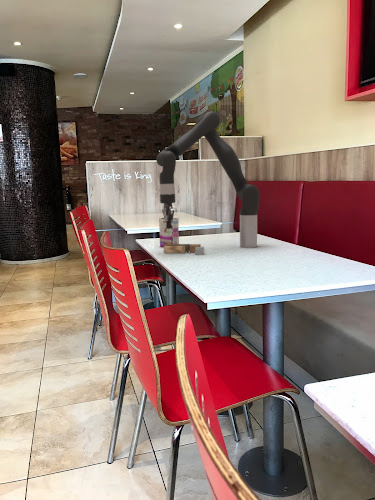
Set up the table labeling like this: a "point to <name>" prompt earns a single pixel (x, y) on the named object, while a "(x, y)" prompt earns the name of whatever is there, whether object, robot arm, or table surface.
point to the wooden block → (187, 247)
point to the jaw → (174, 249)
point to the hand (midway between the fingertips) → (168, 228)
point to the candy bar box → (168, 232)
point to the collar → (199, 251)
